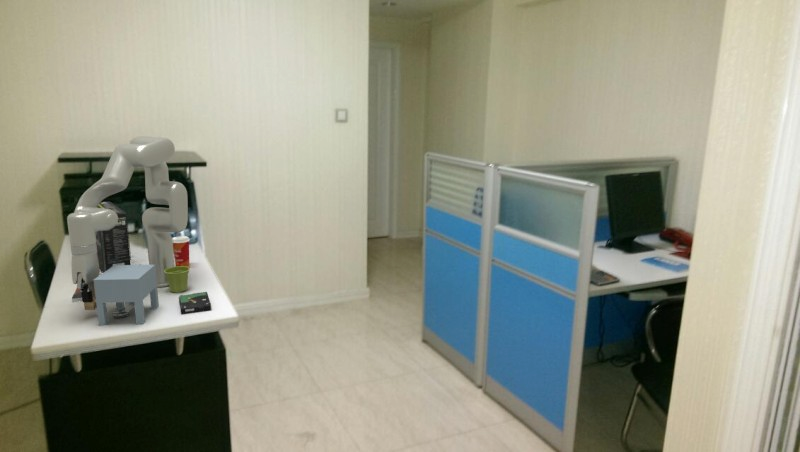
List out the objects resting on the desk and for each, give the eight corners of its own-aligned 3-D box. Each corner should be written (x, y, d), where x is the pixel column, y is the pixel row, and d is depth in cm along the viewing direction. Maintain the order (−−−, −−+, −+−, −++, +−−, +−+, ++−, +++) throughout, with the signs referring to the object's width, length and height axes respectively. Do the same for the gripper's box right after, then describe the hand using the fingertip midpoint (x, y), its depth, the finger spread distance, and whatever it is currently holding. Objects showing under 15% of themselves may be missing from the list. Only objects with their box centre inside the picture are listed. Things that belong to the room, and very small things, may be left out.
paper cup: (170, 267, 236) (168, 237, 233) (187, 264, 241) (185, 234, 238) (177, 271, 231) (175, 241, 228) (194, 268, 236) (192, 238, 233)
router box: (133, 272, 229) (127, 212, 223) (105, 277, 222) (98, 215, 216) (115, 253, 256) (109, 200, 250) (89, 257, 249) (83, 202, 243)
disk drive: (212, 312, 189) (207, 297, 202) (211, 304, 188) (206, 291, 201) (181, 316, 184) (178, 301, 197) (180, 309, 184) (177, 294, 196)
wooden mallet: (92, 304, 184) (89, 277, 182) (137, 303, 186) (134, 276, 184) (81, 312, 177) (77, 284, 174) (128, 311, 178) (125, 284, 176)
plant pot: (164, 295, 202) (162, 274, 200) (167, 287, 211) (166, 266, 209) (189, 293, 205) (188, 272, 203) (192, 285, 213) (191, 265, 211)
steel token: (109, 317, 180) (109, 313, 180) (120, 313, 185) (120, 309, 185) (121, 318, 179) (121, 314, 179) (132, 313, 184) (132, 309, 184)
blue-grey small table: (116, 307, 189) (112, 265, 186) (158, 306, 191) (155, 264, 187) (96, 325, 174) (91, 279, 170) (142, 324, 176) (138, 279, 172)
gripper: (84, 242, 183) (90, 292, 187) (59, 255, 167) (66, 309, 172) (106, 242, 184) (112, 291, 188) (84, 255, 168) (90, 308, 172)
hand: (90, 299), depth 180 cm, fingers closed on wooden mallet, 3 cm apart
